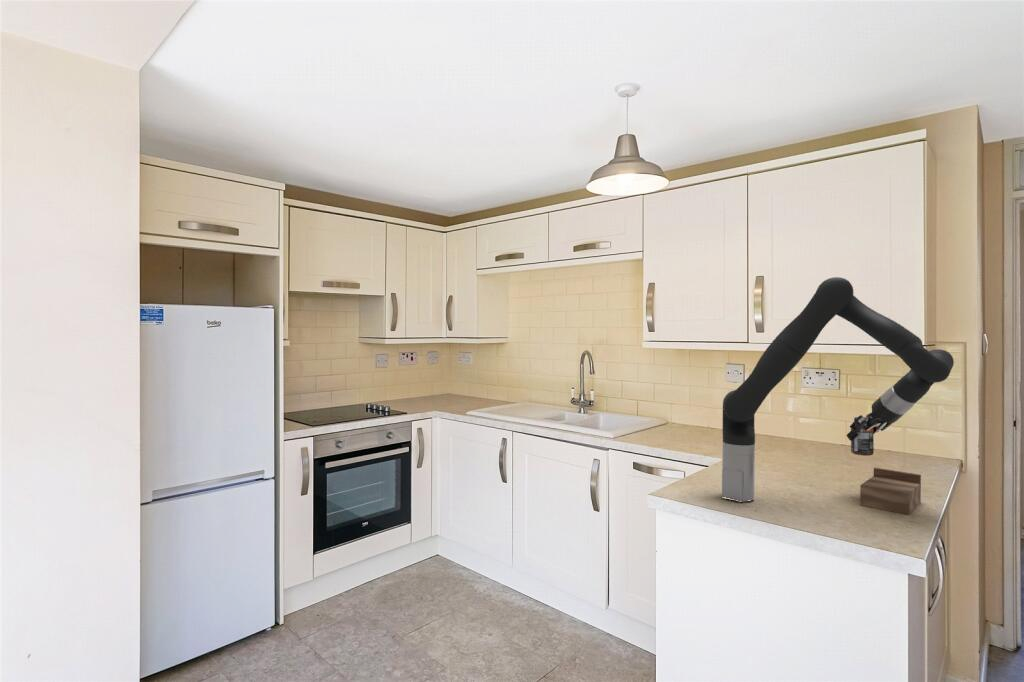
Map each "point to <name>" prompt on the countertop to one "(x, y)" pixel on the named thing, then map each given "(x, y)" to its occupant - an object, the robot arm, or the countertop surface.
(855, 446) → the supplement bottle
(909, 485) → the walnut shelf
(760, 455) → the countertop surface
